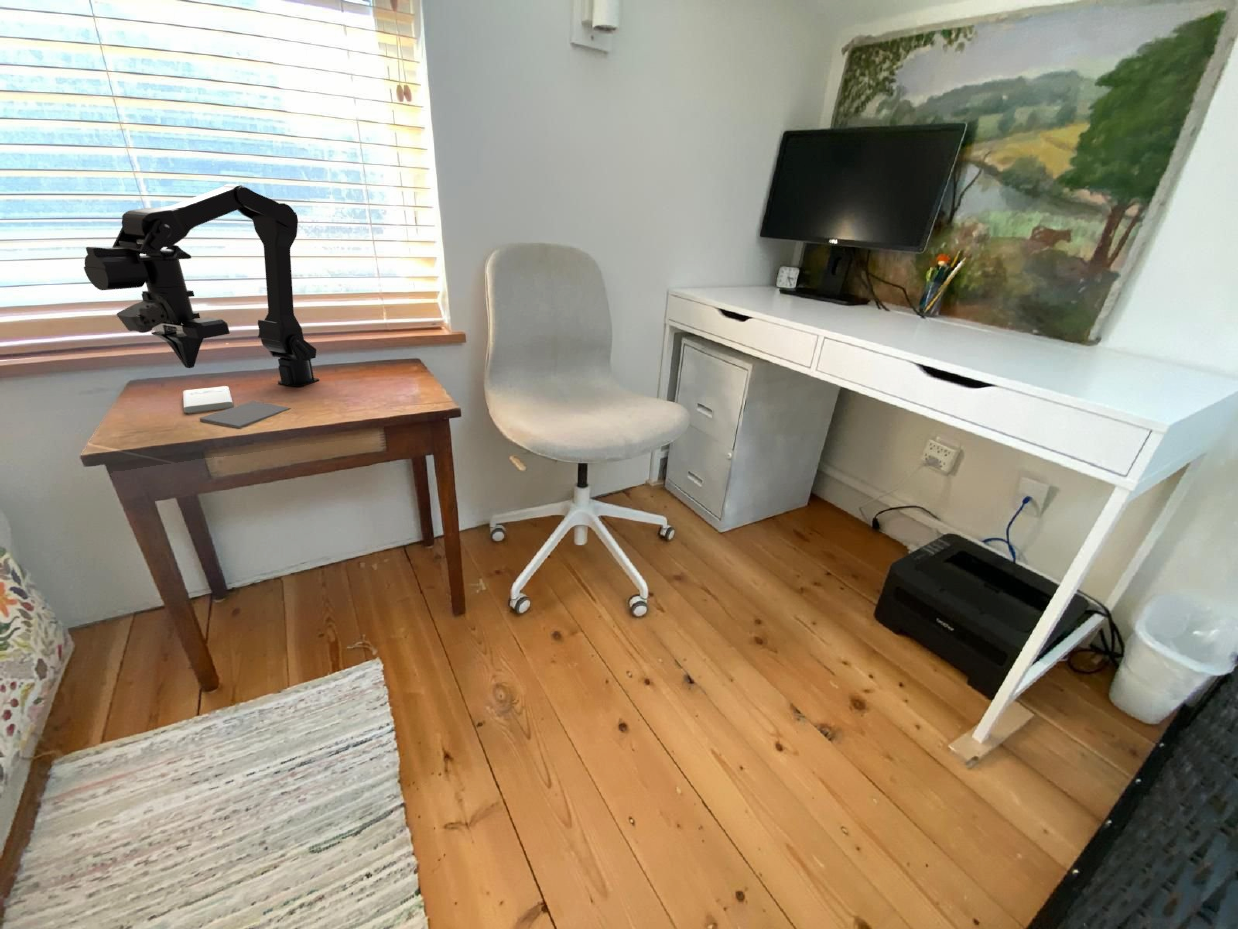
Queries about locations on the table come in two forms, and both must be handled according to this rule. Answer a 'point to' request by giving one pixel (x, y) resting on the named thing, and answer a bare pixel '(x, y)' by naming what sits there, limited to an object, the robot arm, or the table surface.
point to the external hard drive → (207, 399)
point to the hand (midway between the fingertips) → (189, 367)
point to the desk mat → (244, 414)
